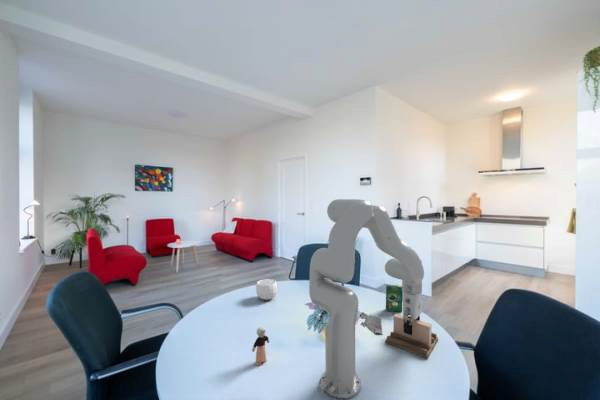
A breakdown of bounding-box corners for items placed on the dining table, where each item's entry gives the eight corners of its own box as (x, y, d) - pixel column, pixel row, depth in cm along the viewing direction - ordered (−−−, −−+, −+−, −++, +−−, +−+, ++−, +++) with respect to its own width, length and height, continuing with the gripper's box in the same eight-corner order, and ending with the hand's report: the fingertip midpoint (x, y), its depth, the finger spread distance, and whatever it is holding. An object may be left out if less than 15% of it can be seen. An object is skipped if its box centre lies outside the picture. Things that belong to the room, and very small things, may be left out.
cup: (276, 302, 144) (276, 285, 144) (254, 303, 144) (254, 286, 144) (278, 294, 156) (278, 278, 156) (258, 294, 156) (258, 278, 156)
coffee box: (401, 309, 134) (401, 284, 133) (402, 312, 131) (402, 286, 130) (385, 308, 135) (385, 284, 135) (386, 311, 132) (386, 286, 132)
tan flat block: (429, 347, 99) (429, 327, 99) (393, 334, 109) (393, 315, 108) (431, 343, 102) (431, 324, 101) (396, 331, 111) (396, 313, 111)
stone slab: (359, 311, 130) (379, 312, 128) (359, 315, 130) (379, 316, 128) (359, 331, 112) (383, 332, 110) (360, 336, 112) (383, 337, 110)
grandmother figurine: (258, 369, 89) (258, 333, 89) (250, 365, 91) (250, 330, 91) (272, 357, 96) (272, 323, 96) (264, 353, 98) (264, 321, 98)
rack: (427, 359, 94) (427, 352, 94) (385, 342, 104) (385, 336, 104) (438, 339, 106) (438, 334, 106) (399, 327, 116) (399, 321, 116)
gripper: (414, 296, 96) (414, 341, 96) (427, 283, 109) (427, 323, 109) (394, 291, 100) (394, 334, 101) (409, 279, 114) (409, 317, 114)
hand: (411, 328), depth 105 cm, fingers open, 9 cm apart
